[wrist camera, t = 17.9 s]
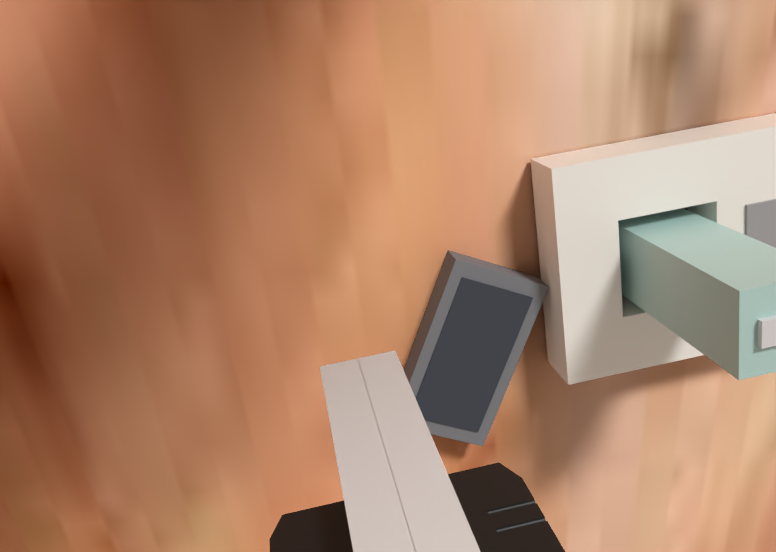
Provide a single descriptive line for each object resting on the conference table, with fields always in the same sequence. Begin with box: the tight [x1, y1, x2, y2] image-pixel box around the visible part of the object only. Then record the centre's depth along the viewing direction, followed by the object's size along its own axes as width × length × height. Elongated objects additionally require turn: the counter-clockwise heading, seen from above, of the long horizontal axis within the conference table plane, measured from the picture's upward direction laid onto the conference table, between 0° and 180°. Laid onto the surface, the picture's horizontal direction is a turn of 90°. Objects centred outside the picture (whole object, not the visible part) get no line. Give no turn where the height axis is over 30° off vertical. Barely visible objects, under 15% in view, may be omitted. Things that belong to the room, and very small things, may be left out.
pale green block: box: [618, 208, 776, 380], centre depth 36 cm, size 4×4×12 cm
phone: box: [404, 250, 549, 446], centre depth 41 cm, size 10×6×2 cm, turn 161°
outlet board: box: [531, 113, 776, 385], centre depth 41 cm, size 12×16×3 cm
